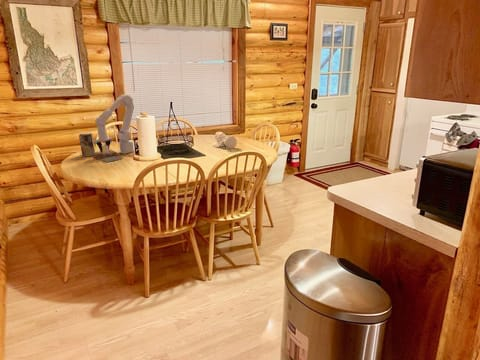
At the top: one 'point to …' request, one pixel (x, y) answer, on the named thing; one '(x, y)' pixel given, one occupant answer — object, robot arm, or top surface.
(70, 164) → the top surface
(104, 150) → the cream block
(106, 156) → the walnut square frame
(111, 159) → the slate mat
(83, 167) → the top surface
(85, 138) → the coffee box
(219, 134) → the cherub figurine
